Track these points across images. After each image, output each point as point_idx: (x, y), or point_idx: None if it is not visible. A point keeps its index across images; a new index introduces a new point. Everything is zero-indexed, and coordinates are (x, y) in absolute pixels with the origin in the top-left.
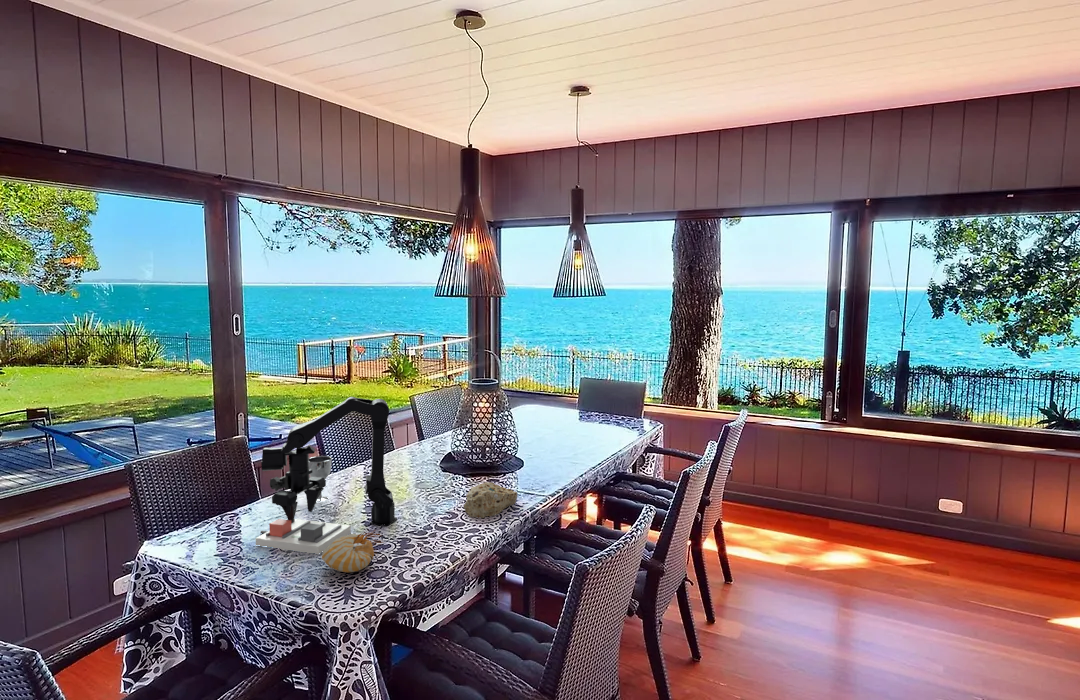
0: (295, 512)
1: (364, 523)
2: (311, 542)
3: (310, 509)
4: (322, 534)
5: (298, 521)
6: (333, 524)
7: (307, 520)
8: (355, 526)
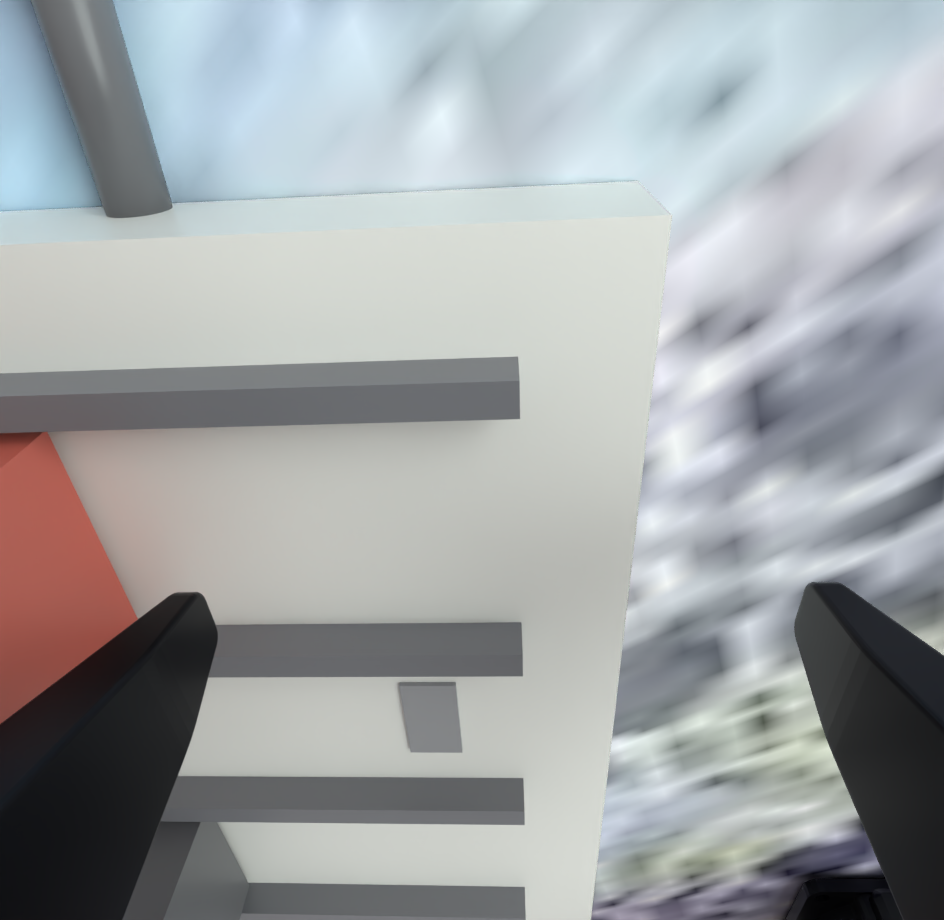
0: (125, 907)
1: (829, 841)
2: None
3: (820, 664)
4: (238, 911)
5: (542, 454)
6: (572, 834)
7: (626, 552)
8: (745, 818)
